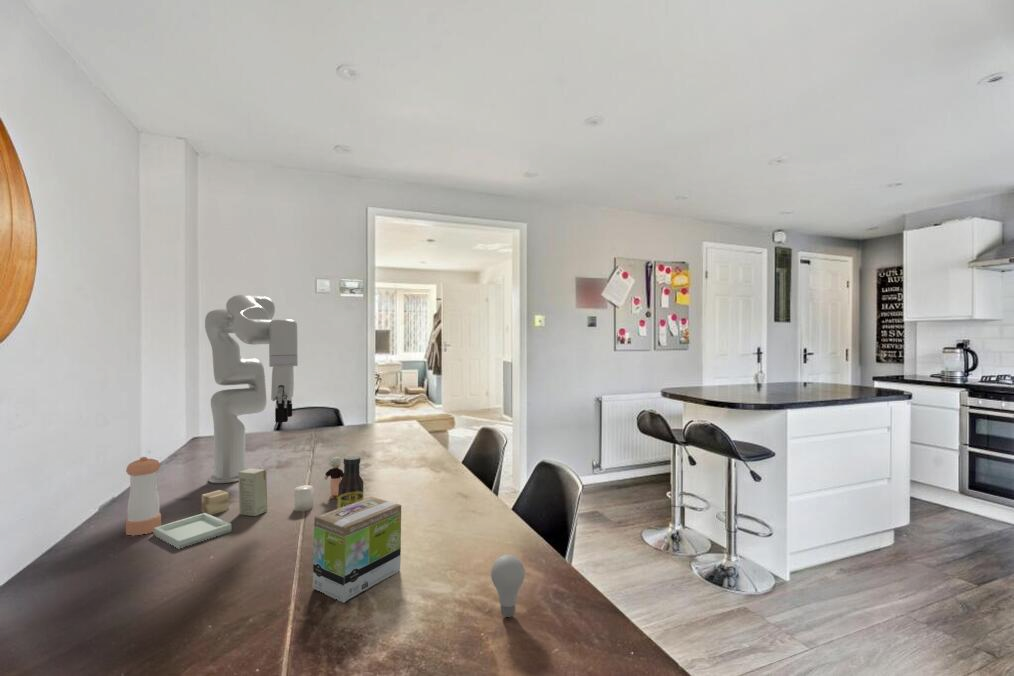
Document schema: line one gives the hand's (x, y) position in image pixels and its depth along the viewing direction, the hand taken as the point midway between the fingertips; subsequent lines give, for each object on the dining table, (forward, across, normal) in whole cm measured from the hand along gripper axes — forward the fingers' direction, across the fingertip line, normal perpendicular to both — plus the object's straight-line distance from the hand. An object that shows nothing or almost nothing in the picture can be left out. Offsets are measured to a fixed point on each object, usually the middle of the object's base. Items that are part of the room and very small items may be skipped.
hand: (284, 419), depth 137 cm
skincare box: (+26, +1, -8) cm, 28 cm away
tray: (+26, +12, -20) cm, 35 cm away
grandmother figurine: (+26, -5, +14) cm, 30 cm away
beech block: (+26, -4, -19) cm, 32 cm away
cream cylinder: (+26, +2, +5) cm, 27 cm away
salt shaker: (+26, +6, -33) cm, 42 cm away
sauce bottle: (+27, +26, +18) cm, 42 cm away
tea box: (+27, +49, +20) cm, 60 cm away
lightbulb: (+28, +71, +46) cm, 89 cm away
